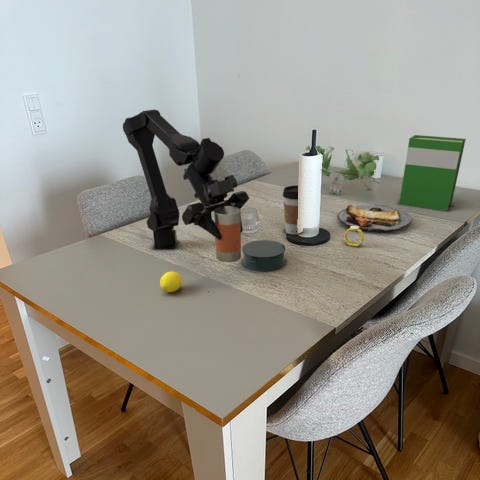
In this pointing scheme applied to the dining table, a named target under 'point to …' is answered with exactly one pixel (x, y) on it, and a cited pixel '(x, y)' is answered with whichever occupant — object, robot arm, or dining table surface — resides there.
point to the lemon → (171, 281)
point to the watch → (354, 228)
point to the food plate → (374, 217)
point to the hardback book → (431, 171)
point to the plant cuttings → (349, 166)
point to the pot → (263, 255)
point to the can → (228, 233)
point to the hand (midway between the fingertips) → (231, 235)
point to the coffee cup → (291, 209)
